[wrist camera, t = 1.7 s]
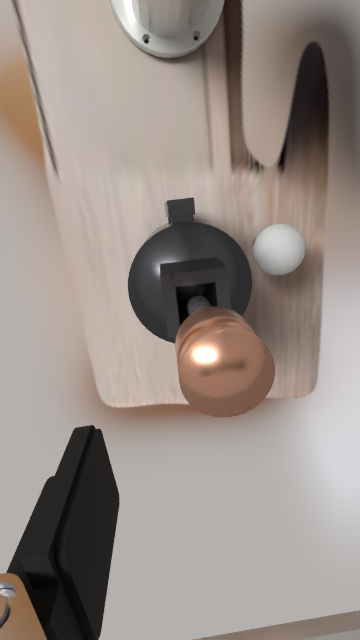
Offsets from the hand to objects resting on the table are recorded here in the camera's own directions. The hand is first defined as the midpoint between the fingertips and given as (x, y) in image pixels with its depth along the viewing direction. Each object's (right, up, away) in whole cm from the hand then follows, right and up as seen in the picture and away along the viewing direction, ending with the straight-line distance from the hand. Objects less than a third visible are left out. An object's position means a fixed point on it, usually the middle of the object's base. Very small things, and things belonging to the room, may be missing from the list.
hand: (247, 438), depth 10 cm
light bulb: (+9, +14, +33) cm, 37 cm away
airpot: (-2, +12, +33) cm, 35 cm away
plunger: (-1, +5, +13) cm, 14 cm away
